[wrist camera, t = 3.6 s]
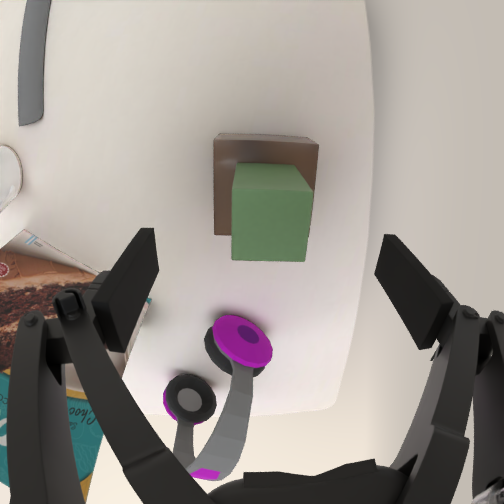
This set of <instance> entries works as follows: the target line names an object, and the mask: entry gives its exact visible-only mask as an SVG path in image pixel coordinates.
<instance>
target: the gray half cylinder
mask: <svg viewBox="0 0 504 504" xmlns="http://www.w3.org/2000/svg"><path fill="white" fill-rule="evenodd" d="M50 1H51V0H27V3H26V8H25V13H24V19H23V26H22V34H21V42H20V53H19V69H18V117H19V126H23V125H27V124H30V123H33V122H35V121H37V120H39V119H40V118H41V117H42V114H43V63H44V48H45V37H46V28H47V20H48V13H49V7H50Z"/></svg>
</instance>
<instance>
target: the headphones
mask: <svg viewBox="0 0 504 504" xmlns="http://www.w3.org/2000/svg"><path fill="white" fill-rule="evenodd" d="M204 342H205V349H206V351H207V353H208V355H209V356H210V358H211V360H212V361H213V362H214V363H215V364H216V365H217V366H218V367H219V368H220V369H221V370H222V371H224V372H226V373H228V374H230V375H232V380H231V386H230V391H229V394H228V397H227V399H226V402H225V405H224V408H223V411H222V413H221V415H220V417H219V420H218V422H217V424H216V426H215V428H214V431H213V433H212V434H211V436H210V438H209V440H208V442H207V443H206V445H205V447H204V448H203V450H202V451H201V453H200V454H199V455H198V457H197V458H196V459H195V457H194V451H193V427H194V425H196V424H200V423H202V422H204V421H207V420H208V419H209V418H210V417H211V416H212V415H213V414H214V412H215V409H216V406H217V404H216V396H215V394H214V392H213V390H212V388H211V387H210V386H209V385H208V384H207V383H206V382H205V381H204V380H202V379H200V378H198V377H197V376H193V375H188V374H185V375H179V376H177V377H175V378H174V379H172V380H171V381H170V382H169V384H168V385H167V387H166V389H165V391H164V393H163V404H164V406H165V409H166V411H167V413H168V414H169V415H170V416H171V417H172V418H173V419H174V420H176V421H177V423H178V426H177V432H176V438H175V443H174V448H173V454H174V455H175V457H176V458H177V459H178V461H179V462H180V463H181V464H182V466H183V467H184V468H185V469H186V470H187V472H188V473H189V474H190V475H191V476H192V477H194V478H199V479H204V480H209V481H219V480H222V479H224V478H225V477H227V476H228V475H229V474H230V473H231V472H232V470H233V469H234V467H235V466H236V464H237V462H238V461H239V459H240V456H241V453H242V450H243V447H244V444H245V440H246V434H247V428H248V422H249V416H250V410H251V404H252V398H253V377H256V376H258V375H259V374H260V373H261V372H262V371H263V370H264V368H265V366H266V365H267V364H268V363H269V362H270V361H271V358H272V351H273V349H272V346H271V343H270V341H269V339H268V338H267V337H266V335H265V334H264V333H263V331H261V330H260V329H259V328H258V327H257V326H256V325H255V324H253V323H251V322H250V321H248V320H246V319H244V318H241V317H238V316H235V315H224V316H223V317H221V318H219V319H217V320H216V321H215V323H214V325H213V326H212V327H211V328H209V329H208V331H207V333H206V336H205V338H204Z"/></svg>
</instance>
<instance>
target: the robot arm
mask: <svg viewBox="0 0 504 504" xmlns="http://www.w3.org/2000/svg"><path fill="white" fill-rule="evenodd" d="M158 272H159V265H158V258H157V251H156V243H155V235H154V228H141V229H140V230H139V231H138V233H137V234H136V235H135V237H134V238H133V239H132V241H131V242H130V244H129V245H128V246H127V248H126V249H125V251H124V252H123V253H122V255H121V256H120V258H119V259H118V261H117V262H116V263H115V265H114V266H113V268H112V269H111V271H103V272H101V273H100V274H98V275H97V276H96V277H95V278H94V280H93V281H92V284H90V286H89V287H88V289H87V290H86V291H85V293H84V294H83V296H82V294H81V292H80V290H78V289H76V288H68V289H64V290H62V291H60V292H58V293H57V294H56V295H55V296H54V297H53V299H52V304H53V307H54V309H55V312H56V314H57V317H58V318H51V319H45V317H44V315H43V313H42V312H41V311H38V310H33V311H30V312H27V313H25V314H24V315H23V316H22V317H21V318H20V320H19V323H18V327H17V332H16V337H15V343H14V349H13V355H12V362H11V369H10V378H9V387H8V400H7V423H6V442H7V464H8V476H9V486H10V493H11V498H10V504H85V500H84V497H83V493H82V489H81V485H80V481H79V476H78V472H77V467H76V462H75V456H74V451H73V445H72V439H71V432H70V424H69V415H68V405H67V393H66V376H65V364H70V363H73V365H74V368H75V370H76V373H77V376H78V378H79V381H80V383H81V386H82V388H83V390H84V393H85V395H86V397H87V400H88V402H89V404H90V406H91V409H92V411H93V413H94V415H95V417H96V419H97V421H98V423H99V425H100V427H101V429H102V431H103V433H104V435H105V437H106V439H107V441H108V443H109V444H110V446H111V448H112V450H113V452H114V453H115V455H116V457H117V459H118V460H119V462H120V464H121V466H122V468H123V473H124V475H125V477H126V478H127V480H128V481H129V483H130V485H131V486H132V488H133V489H134V491H135V492H136V493H137V495H138V496H139V498H140V499H141V501H142V502H143V504H451V501H452V499H453V496H454V493H455V491H456V488H457V485H458V482H459V479H460V476H461V473H462V470H463V467H464V463H465V459H466V456H467V453H468V449H469V444H470V440H469V438H466V437H464V434H465V430H466V426H467V421H468V416H469V412H470V407H471V401H472V396H473V411H474V460H473V477H472V481H473V482H472V494H473V501H472V504H504V314H503V313H502V312H499V311H492V312H491V313H490V315H489V317H488V318H482V317H480V316H479V314H478V313H477V311H476V310H474V309H473V308H471V307H469V306H466V305H460V304H459V303H458V301H457V300H456V299H455V298H454V296H453V295H452V294H451V293H450V292H449V290H448V289H447V288H446V287H445V286H444V284H443V283H442V282H441V281H440V280H439V279H437V278H436V277H435V276H433V275H431V274H430V273H429V271H428V270H427V269H426V268H425V267H424V266H423V265H422V263H421V262H420V261H419V260H418V259H417V258H416V257H415V256H414V254H413V253H412V252H411V251H410V250H409V249H408V248H407V247H406V246H405V245H404V244H403V242H401V240H400V239H399V238H398V237H397V236H396V235H390V234H384V238H383V242H382V246H381V250H380V254H379V258H378V262H377V266H376V270H375V273H374V274H375V276H376V277H377V279H378V281H379V282H380V284H381V286H382V287H383V289H384V290H385V292H386V294H387V295H388V297H389V299H390V300H391V302H392V304H393V305H394V307H395V309H396V310H397V312H398V314H399V315H400V317H401V319H402V320H403V322H404V324H405V326H406V327H407V329H408V331H409V332H410V334H411V336H412V338H413V340H414V342H415V343H416V345H417V347H418V349H419V350H422V349H429V348H432V346H433V344H434V342H435V340H436V339H437V340H438V342H439V343H440V344H439V346H438V348H437V350H436V351H435V353H434V355H433V357H432V358H431V361H433V364H432V367H431V371H430V374H429V377H428V380H427V383H426V386H425V389H424V392H423V395H422V398H421V401H420V403H419V406H418V409H417V411H416V414H415V416H414V419H413V421H412V424H411V426H410V429H409V431H408V433H407V435H406V438H405V440H404V442H403V444H402V447H401V449H400V451H399V453H398V455H397V457H396V459H395V460H394V462H393V463H392V464H391V466H390V467H385V466H378V465H376V463H375V459H370V460H365V461H360V462H355V463H349V464H344V465H342V466H340V467H337V468H335V469H332V470H330V471H327V472H324V473H322V474H319V475H316V476H306V475H298V474H291V473H284V472H244V475H243V479H239V480H234V481H231V482H228V483H226V484H223V485H221V486H219V487H217V488H216V489H214V490H212V491H211V492H210V493H208V494H207V493H206V492H205V491H204V490H203V489H202V488H201V487H200V486H199V485H198V483H197V482H196V481H195V480H194V479H193V478H192V476H191V475H190V474H189V473H188V472H187V470H186V469H185V468H184V467H183V466H182V464H181V463H180V462H179V461H178V459H177V458H176V457H175V455H174V454H173V453H172V452H171V451H170V449H169V448H167V447H166V446H165V444H164V443H163V442H162V440H161V439H160V438H159V436H158V435H157V434H156V432H155V431H154V429H153V428H152V426H151V425H150V423H149V422H148V420H147V419H146V417H145V416H144V414H143V413H142V411H141V410H140V408H139V407H138V405H137V403H136V402H135V400H134V399H133V397H132V395H131V394H130V392H129V390H128V389H127V387H126V385H125V384H124V382H123V380H122V378H121V377H120V375H119V373H118V371H117V369H116V368H115V366H114V364H113V362H112V360H111V358H110V356H109V355H108V353H107V351H106V349H105V347H104V344H105V342H106V345H107V347H108V350H109V351H110V352H117V353H125V352H126V349H127V346H128V344H129V341H130V339H131V336H132V334H133V331H134V329H135V326H136V324H137V321H138V319H139V316H140V314H141V312H142V309H143V307H144V304H145V302H146V300H147V297H148V295H149V293H150V290H151V288H152V286H153V284H154V281H155V279H156V277H157V275H158ZM491 355H492V357H491ZM433 359H434V360H433Z"/></svg>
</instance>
